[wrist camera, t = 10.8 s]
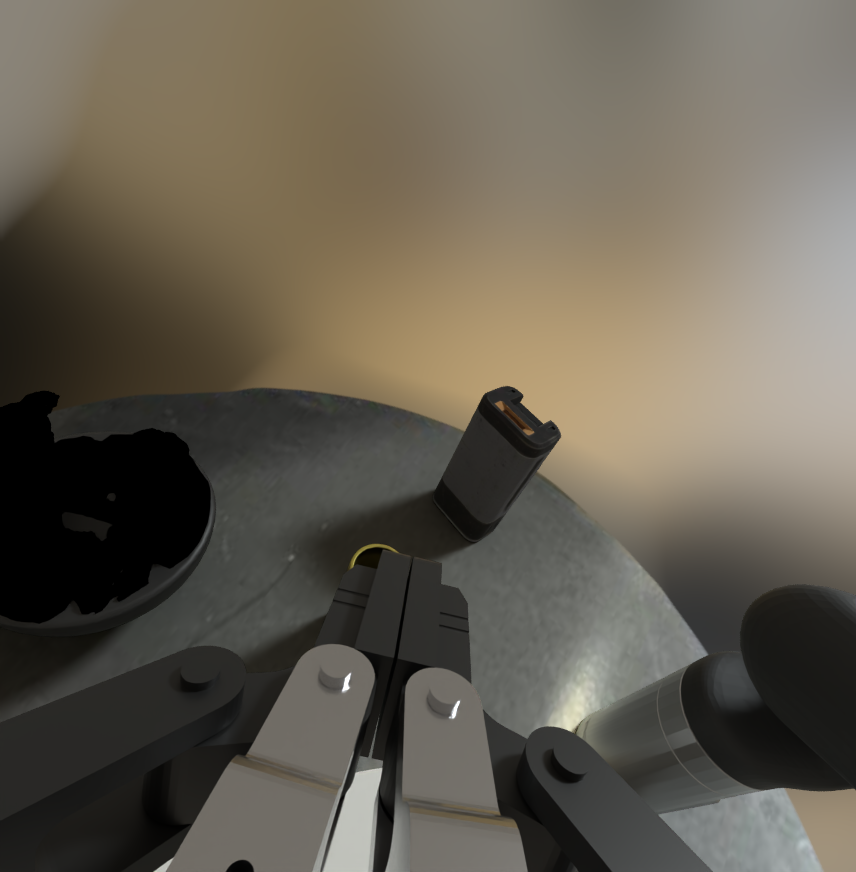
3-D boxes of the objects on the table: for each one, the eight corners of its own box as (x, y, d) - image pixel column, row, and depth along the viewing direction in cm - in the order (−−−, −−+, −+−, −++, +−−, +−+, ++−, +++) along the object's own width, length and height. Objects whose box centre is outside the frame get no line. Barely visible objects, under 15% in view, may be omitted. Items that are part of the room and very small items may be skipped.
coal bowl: (217, 649, 46) (212, 553, 34) (-52, 695, 39) (-193, 593, 26) (217, 484, 59) (214, 368, 46) (13, 494, 51) (-61, 356, 38)
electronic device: (498, 528, 67) (568, 433, 53) (470, 547, 63) (537, 450, 50) (456, 481, 71) (511, 381, 57) (427, 496, 67) (478, 393, 53)
